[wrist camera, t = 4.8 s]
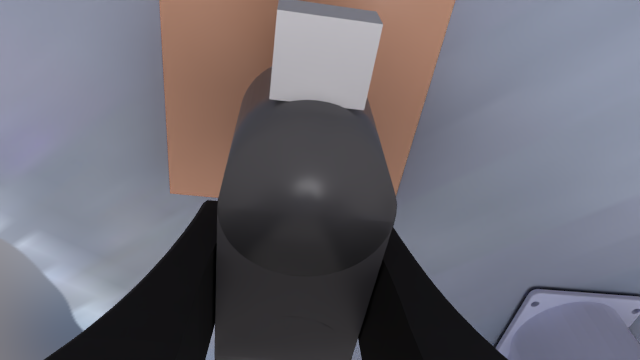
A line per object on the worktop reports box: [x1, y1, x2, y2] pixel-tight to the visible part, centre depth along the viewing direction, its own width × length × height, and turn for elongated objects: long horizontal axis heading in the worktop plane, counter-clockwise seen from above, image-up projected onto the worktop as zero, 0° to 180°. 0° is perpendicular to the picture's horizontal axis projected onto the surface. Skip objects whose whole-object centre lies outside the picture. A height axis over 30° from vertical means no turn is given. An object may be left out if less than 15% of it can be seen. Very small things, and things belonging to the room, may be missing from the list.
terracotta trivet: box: [159, 0, 455, 198], centre depth 20 cm, size 11×11×1 cm
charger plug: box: [215, 0, 397, 360], centre depth 12 cm, size 10×4×4 cm, turn 172°
